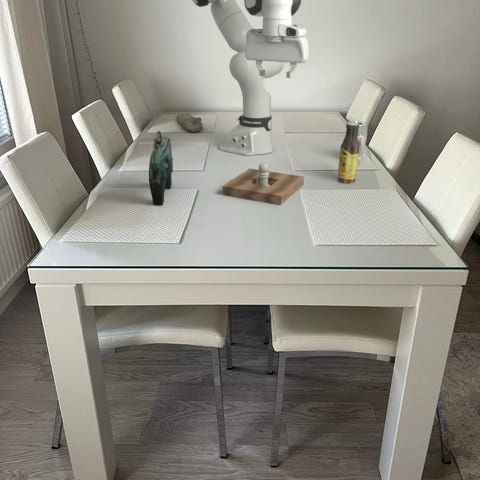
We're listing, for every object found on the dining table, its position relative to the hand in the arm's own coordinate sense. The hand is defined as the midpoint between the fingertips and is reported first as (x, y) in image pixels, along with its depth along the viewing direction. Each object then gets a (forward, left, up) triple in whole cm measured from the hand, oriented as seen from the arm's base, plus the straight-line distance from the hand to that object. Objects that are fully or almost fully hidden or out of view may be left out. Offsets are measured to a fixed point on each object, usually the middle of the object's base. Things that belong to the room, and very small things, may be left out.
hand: (275, 76), depth 157 cm
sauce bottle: (+24, +8, -34) cm, 42 cm away
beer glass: (+21, +30, -34) cm, 50 cm away
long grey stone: (-70, +57, -34) cm, 96 cm away
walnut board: (+2, -12, -34) cm, 36 cm away
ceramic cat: (-25, -30, -34) cm, 52 cm away
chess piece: (+2, -12, -34) cm, 36 cm away
